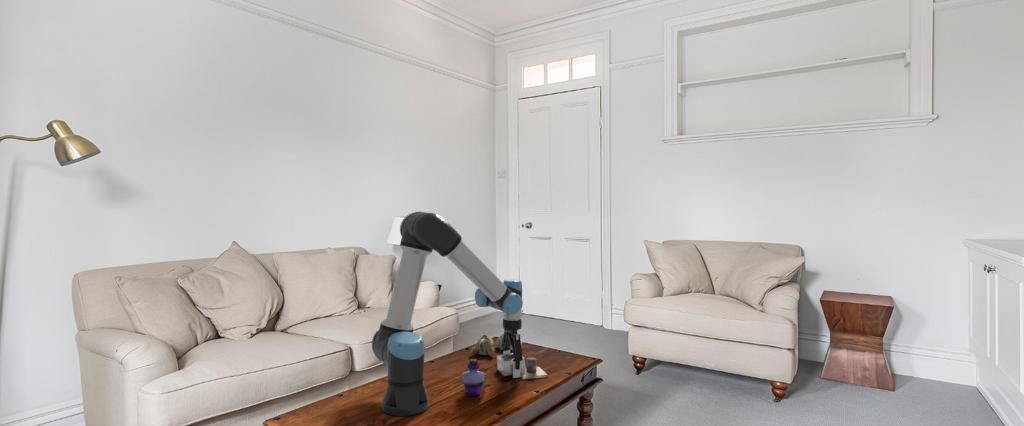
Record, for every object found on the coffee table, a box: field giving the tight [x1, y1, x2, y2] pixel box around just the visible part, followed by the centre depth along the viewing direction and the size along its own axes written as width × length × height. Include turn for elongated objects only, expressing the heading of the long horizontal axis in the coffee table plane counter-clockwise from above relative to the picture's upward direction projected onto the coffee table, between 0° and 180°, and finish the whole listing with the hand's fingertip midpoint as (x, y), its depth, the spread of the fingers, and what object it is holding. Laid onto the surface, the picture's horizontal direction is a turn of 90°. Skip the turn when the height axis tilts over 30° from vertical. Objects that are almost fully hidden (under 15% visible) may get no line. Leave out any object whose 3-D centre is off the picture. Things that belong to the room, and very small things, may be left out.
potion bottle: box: [461, 358, 486, 398], centre depth 186 cm, size 9×9×12 cm
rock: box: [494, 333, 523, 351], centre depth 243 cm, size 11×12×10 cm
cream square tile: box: [520, 356, 549, 380], centre depth 208 cm, size 10×10×6 cm
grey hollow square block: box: [496, 352, 526, 377], centre depth 210 cm, size 9×9×6 cm
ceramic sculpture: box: [469, 333, 496, 357], centre depth 234 cm, size 11×9×15 cm
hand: (511, 371), depth 210 cm, fingers open, 13 cm apart
